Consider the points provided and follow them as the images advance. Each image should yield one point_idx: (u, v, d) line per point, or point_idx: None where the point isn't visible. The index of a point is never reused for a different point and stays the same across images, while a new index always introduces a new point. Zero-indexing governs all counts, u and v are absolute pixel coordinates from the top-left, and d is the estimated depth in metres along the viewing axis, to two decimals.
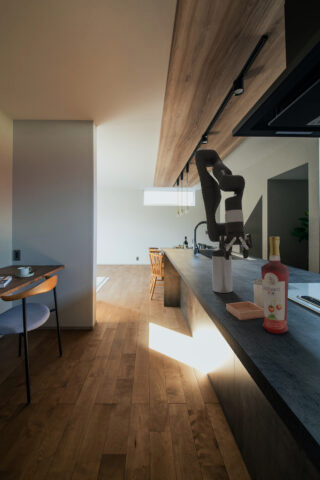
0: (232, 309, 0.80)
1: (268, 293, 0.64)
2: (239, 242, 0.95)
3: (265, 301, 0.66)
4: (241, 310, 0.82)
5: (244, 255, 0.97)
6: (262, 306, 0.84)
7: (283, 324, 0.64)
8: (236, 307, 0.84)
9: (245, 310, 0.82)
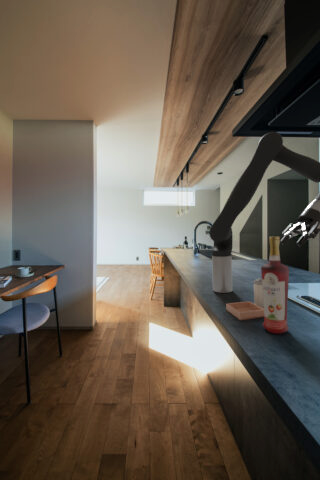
0: (232, 309, 0.80)
1: (268, 293, 0.64)
2: None
3: (265, 301, 0.66)
4: (241, 310, 0.82)
5: (284, 241, 0.92)
6: (262, 306, 0.84)
7: (283, 324, 0.64)
8: (236, 307, 0.84)
9: (245, 310, 0.82)
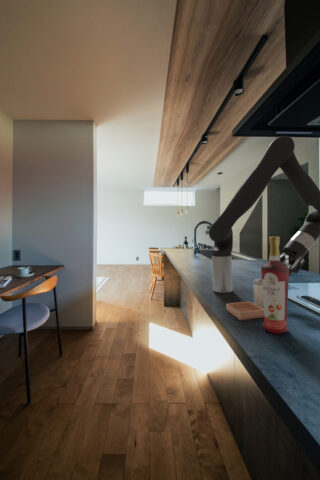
0: (232, 309, 0.80)
1: (268, 293, 0.64)
2: None
3: (265, 301, 0.66)
4: (241, 310, 0.82)
5: None
6: (262, 306, 0.84)
7: (283, 324, 0.64)
8: (236, 307, 0.84)
9: (245, 310, 0.82)
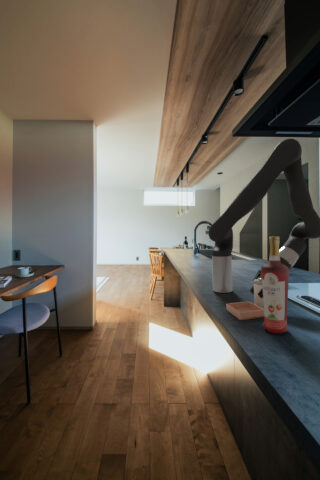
0: (232, 309, 0.80)
1: (268, 293, 0.64)
2: None
3: (265, 301, 0.66)
4: (241, 310, 0.82)
5: None
6: (262, 306, 0.84)
7: (283, 324, 0.64)
8: (236, 307, 0.84)
9: (245, 310, 0.82)
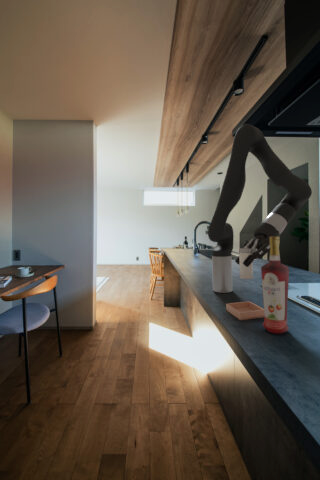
0: (232, 309, 0.80)
1: (268, 293, 0.64)
2: None
3: (265, 301, 0.66)
4: (241, 310, 0.82)
5: None
6: (248, 276, 0.78)
7: (283, 324, 0.64)
8: (236, 307, 0.84)
9: (245, 310, 0.82)
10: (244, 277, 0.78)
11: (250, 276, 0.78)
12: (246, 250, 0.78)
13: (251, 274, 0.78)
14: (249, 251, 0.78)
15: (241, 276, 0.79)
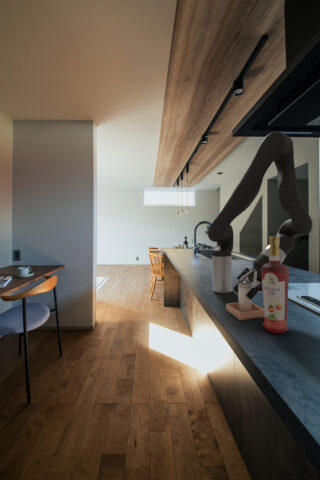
0: (232, 309, 0.80)
1: (268, 293, 0.64)
2: None
3: (265, 301, 0.66)
4: None
5: (237, 288, 0.84)
6: None
7: (283, 324, 0.64)
8: (236, 307, 0.84)
9: None
10: None
11: None
12: (245, 286, 0.78)
13: (250, 309, 0.79)
14: (248, 287, 0.78)
15: (240, 311, 0.80)
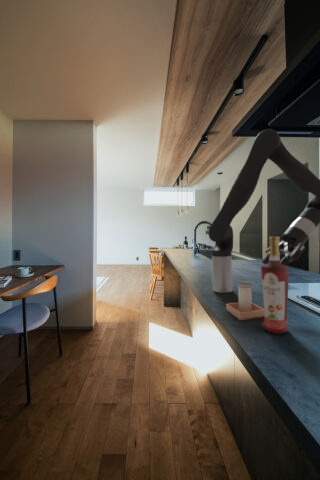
0: (232, 309, 0.80)
1: (268, 293, 0.64)
2: None
3: (265, 301, 0.66)
4: None
5: (266, 260, 0.86)
6: None
7: (283, 324, 0.64)
8: (236, 307, 0.84)
9: None
10: None
11: None
12: (245, 285, 0.78)
13: (250, 309, 0.79)
14: (248, 286, 0.78)
15: (240, 311, 0.80)
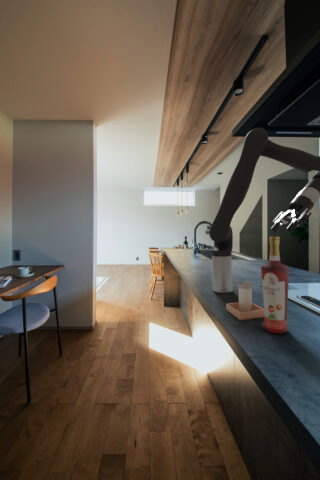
0: (232, 309, 0.80)
1: (268, 293, 0.64)
2: None
3: (265, 301, 0.66)
4: None
5: (274, 228, 0.92)
6: (246, 311, 0.78)
7: (283, 324, 0.64)
8: (236, 307, 0.84)
9: None
10: None
11: None
12: (245, 286, 0.78)
13: (250, 309, 0.79)
14: (248, 287, 0.78)
15: (240, 310, 0.80)
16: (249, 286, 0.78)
